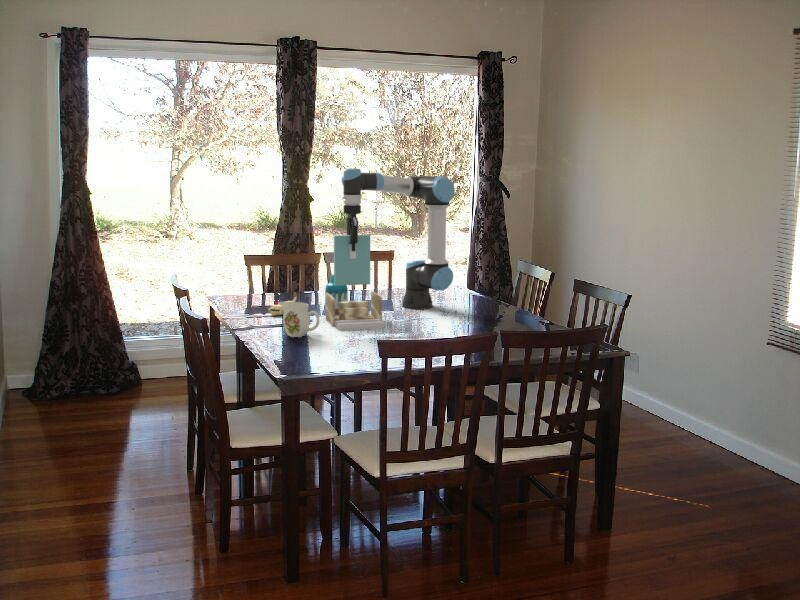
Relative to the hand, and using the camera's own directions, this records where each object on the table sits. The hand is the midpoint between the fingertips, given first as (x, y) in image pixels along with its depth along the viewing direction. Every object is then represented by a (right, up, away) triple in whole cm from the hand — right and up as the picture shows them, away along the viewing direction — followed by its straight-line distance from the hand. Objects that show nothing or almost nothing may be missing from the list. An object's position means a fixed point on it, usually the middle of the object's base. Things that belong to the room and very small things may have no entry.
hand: (352, 257), depth 353 cm
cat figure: (-34, -25, +28) cm, 50 cm away
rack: (0, -30, +2) cm, 30 cm away
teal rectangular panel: (0, -12, +2) cm, 12 cm away
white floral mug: (-21, -34, -20) cm, 45 cm away
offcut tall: (+1, -28, +1) cm, 28 cm away
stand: (+4, -32, -9) cm, 33 cm away
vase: (-9, -26, +21) cm, 35 cm away
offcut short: (+2, -29, -2) cm, 29 cm away
